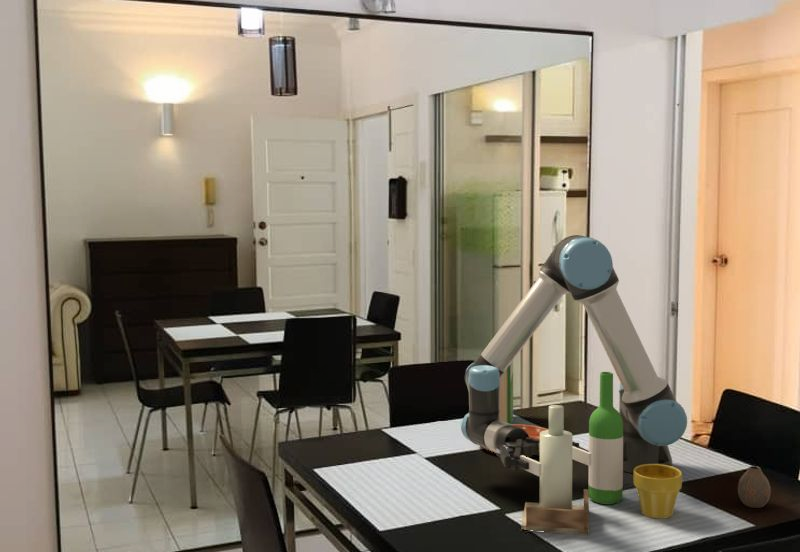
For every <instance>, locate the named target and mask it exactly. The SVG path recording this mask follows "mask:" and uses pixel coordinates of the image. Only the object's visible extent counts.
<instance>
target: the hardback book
mask: <svg viewBox="0 0 800 552" xmlns="http://www.w3.org/2000/svg"><path fill="white" fill-rule="evenodd" d="M490 342H491V340H490V341H489V342H488V344H489V343H490ZM499 409H500V420H501V421H504V422H506V423H509V424H513V420H514V419H513V418H514V360H513V361H512V362H511V364H510V365H509V366H508V368H507V369H506V370H505V371H504V373H503V374H502V376H501V377H500V404H499ZM512 419H513V420H512Z"/></svg>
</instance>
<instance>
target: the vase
mask: <svg viewBox="0 0 800 552" xmlns="http://www.w3.org/2000/svg"><path fill="white" fill-rule="evenodd" d="M771 493H772V492H771V486H770V481H769V479H768V477H767V476H766V475H765V474H764V473H763V471H762V469H761V467H760V466H756V465H751V466H748V469H747V470H746V472H744V473H743V475H741V477H740V478H739V481H738V485H737V494H738V497H739V500H740V502H742V504H743V505H745V506H746V507H748V508H753V509H755V508H756V509H759V508H760V509H761V508H763V507H765V506H766V504H767V503H768V502H769V500H770V497H771Z"/></svg>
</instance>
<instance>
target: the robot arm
mask: <svg viewBox="0 0 800 552" xmlns="http://www.w3.org/2000/svg"><path fill="white" fill-rule="evenodd" d="M619 281H620V280H619V276H618V275H617V273H616V270H615V268H614V263H613V257H612V255H611V252H610V251H609V250H608V248H607V246H606V245H605V244H603V243H602V242H601V241H600V240H598V239H595V238H593V237H587V236H584V235H579V234H577V235H576V234H574V235H569V236H566V237H565V238H563V239H560V241H559V242H558V243H557V244H556V245H555V247H554V249H553V250H552V251H551V253H550V254H549V255H548V257H547V259H546V260H545V261H544V263H543V265H542V266H541V267H540V269H539V270H538V278H537V279H536V281H534V283H533V284H532V286H531V287H530V288H529V290H528V291H527V292H526V294H524V297H522V299H521V301H520V302H519V303H518V304H517V306H516V307H515V309H513V311H512V313H511V314H510V315H509V316H508V318H507V319H506V320H505V322H504V323H503V324H502V325H501V327H500V328H499V330H498V331H497V332H496V334H495V335H494V336H493V337H492V339H491V340H490V341H491V342H490V341H489V342H490V343H489V342H488V344H487V346H486V347H485V348H484V349H483V351H482V352H481V354H480V355H479V356H478V357H477V358H476V361H474V362H472V363H471V364H470V365H468V366H467V368H466V369H465V375H464V381H465V384H466V387H467V391H468V406H469V409H468V413H466V414H465V415H464V417H463V419H462V422H461V423H460V428H461V433H462V435H463V437H464V438H465V439H467V440H468V441H470V442H471V443H473V444H475V445H477V446H480V447H482V446H483V448H484V447H485V448H487V449H489V450H492V451H494V452H496V453H495V454H496V456H497V457H498V458H500V460H501V462H502V465H503V467H504V468H506V469H511V466H512V467H513V471H514V472H519V471H520V470H524V471H526V472H528V473H530V474H533V475H535V476H537V477H540V476H542V463H540V461H537V460H536V459H532V458H530V457H533V456H532V455H537V456H540V452H538V451H539V446H540V439H534V438H530V437H529V436H528V434H527V432H526V431H525V430H523V429H521V428H519V427H516V426H514V425H512V424H513V423H512V424H509V423H506V422H504V421H501V420H500V409H499V404H500V377H501V376H502V374H503V373H504V371H505V370H506V369H507V368H508V366H509V365H510V364H511V362H512V361H513V362H514V359H515V358H517V356H518V354H519V353H520V352H521V351H522V349H523V348H524V347H525V346H526V344H527V342H528V341H529V340H530V339H531V338H532V336H533V335H534V334H535V332H536V331H537V329H538V328H539V327H540V325H542V323H543V322H544V320H545V319H546V318H547V316H548V315H549V314H550V312H551V311H552V310H553V309H554V308H555V306H556V305H557V304H558V302H559V301H560V300H561V299H562V297H563V295H568V294H571V297H572V299H573V300H574V301H573V302H576V303H577V302H578V303H580V304H582V305H583V307H584V309H585V311H586V314H587V315H588V318H589V319H590V321H591V324H592V326H593V328H594V330H595V333H596V334H597V336H598V339H599V340H600V342H601V345H602V346H603V348H604V351H605V352H606V355H607V357H608V359H609V361H610V363H611V365H612V368H613V369H614V372H615V374H616V377H617V378H618V380H619V382H620V383H619V389H618V394H619V397H618V398H619V402H618V403H619V404H618V405H619V406H618V407H619V409H618V412H619V413H620V415H621V417H622V420H623V472H627V473H631V474H633V470H634V468H635V467H637V466H640V465H644V464H662V465H668V466H672V467H673V458H672V455H671V452H670V448H669V445H672V444H674V443H676V442H677V441H679V440H680V439H681V438H682V437H683V435H685V432H686V429H687V426H688V416H687V413H686V411H685V408H684V407H683V406H682V405H681V404H680V403H679V402H678V401H677V399H676V397H675V395H674V393H673V391H672V389H671V387H670V385H669V383H668V381H667V379H666V378H663V377H659V376H658V374H657V371H656V369H654V366H653V363H652V361H651V360H650V357H649V356H648V354H647V351H646V348H645V347H644V345H643V343H642V340H641V339H640V336H639V334H638V333H637V330H636V328H635V326H634V324H633V322H632V320H631V317H630V316H629V313H628V311H627V309H626V307H625V305H624V303H623V301H622V298H621V296H620V295H619V292H618V290H617V288H618V285H619V283H620V282H619ZM485 448H484V449H485ZM527 455H529V456H527ZM526 456H527V457H526ZM573 460H574V461H576V462H579V463H582V464H583V465H586V466H588V467H589V466H591V465H592V453H590V452H589V451H587V450H584V449H582V448H580V443H579V442H576V441H574V440H572V461H573Z"/></svg>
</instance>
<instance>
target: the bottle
mask: <svg viewBox="0 0 800 552" xmlns="http://www.w3.org/2000/svg"><path fill="white" fill-rule="evenodd" d="M564 407H565V406H563V405H561V404H552V405H551V404H550V405H549V406H548V429H549V430H544V431H541V432H540V455H539V462H540V463H542V476H539V503H540V504H539V507H540V508H558V509H572V505H573V459H572V442H573V433H572V432H570V431H569V430H568V431H567V430H565V429H564V427H565V425H564V423H565V421H564V419H565V414H564V412H565V409H564Z"/></svg>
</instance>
